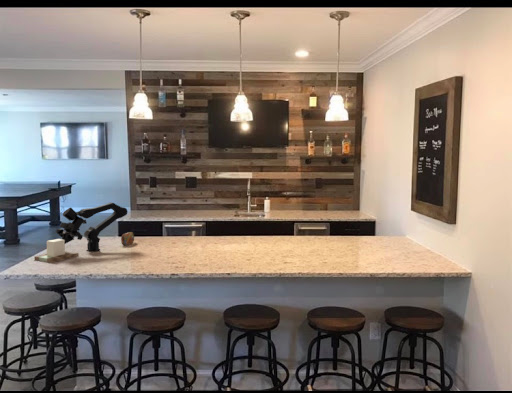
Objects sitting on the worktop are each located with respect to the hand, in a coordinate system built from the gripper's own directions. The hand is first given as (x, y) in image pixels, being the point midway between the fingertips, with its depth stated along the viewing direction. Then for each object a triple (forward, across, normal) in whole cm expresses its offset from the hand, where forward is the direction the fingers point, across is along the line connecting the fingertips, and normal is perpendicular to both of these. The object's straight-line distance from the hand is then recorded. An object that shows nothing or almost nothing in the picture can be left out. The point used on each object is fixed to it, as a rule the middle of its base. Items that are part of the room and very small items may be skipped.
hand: (61, 245), depth 271 cm
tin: (-29, +9, +39) cm, 50 cm away
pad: (+12, 0, -2) cm, 13 cm away
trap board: (+8, 0, +2) cm, 8 cm away
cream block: (+7, 0, +1) cm, 7 cm away
